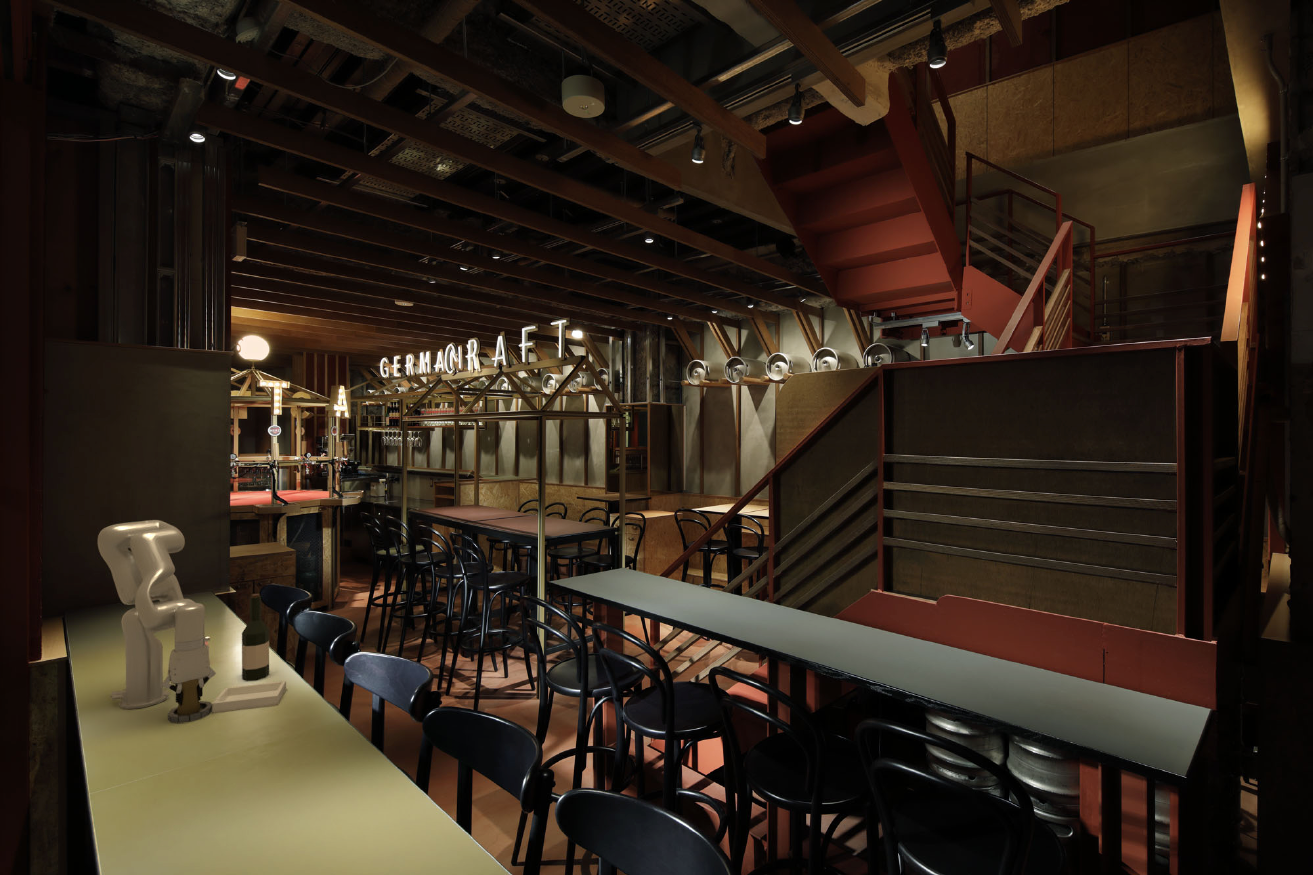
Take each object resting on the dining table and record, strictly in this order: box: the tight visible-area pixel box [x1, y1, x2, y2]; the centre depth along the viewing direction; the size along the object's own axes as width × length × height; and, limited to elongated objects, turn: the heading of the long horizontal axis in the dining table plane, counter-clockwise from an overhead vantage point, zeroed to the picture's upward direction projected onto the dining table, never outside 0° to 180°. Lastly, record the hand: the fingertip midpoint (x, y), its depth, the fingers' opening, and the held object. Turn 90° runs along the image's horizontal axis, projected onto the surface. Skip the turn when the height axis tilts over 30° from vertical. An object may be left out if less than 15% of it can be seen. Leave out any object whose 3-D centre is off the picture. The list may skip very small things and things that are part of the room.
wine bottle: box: [241, 593, 270, 682], centre depth 229 cm, size 8×8×30 cm
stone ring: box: [167, 700, 213, 724], centre depth 198 cm, size 11×11×2 cm
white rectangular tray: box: [211, 680, 287, 714], centre depth 208 cm, size 18×13×3 cm
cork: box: [177, 679, 202, 715], centre depth 198 cm, size 6×6×11 cm
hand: (189, 701), depth 198 cm, fingers closed on cork, 3 cm apart
